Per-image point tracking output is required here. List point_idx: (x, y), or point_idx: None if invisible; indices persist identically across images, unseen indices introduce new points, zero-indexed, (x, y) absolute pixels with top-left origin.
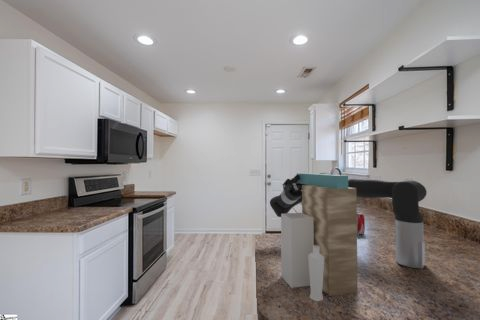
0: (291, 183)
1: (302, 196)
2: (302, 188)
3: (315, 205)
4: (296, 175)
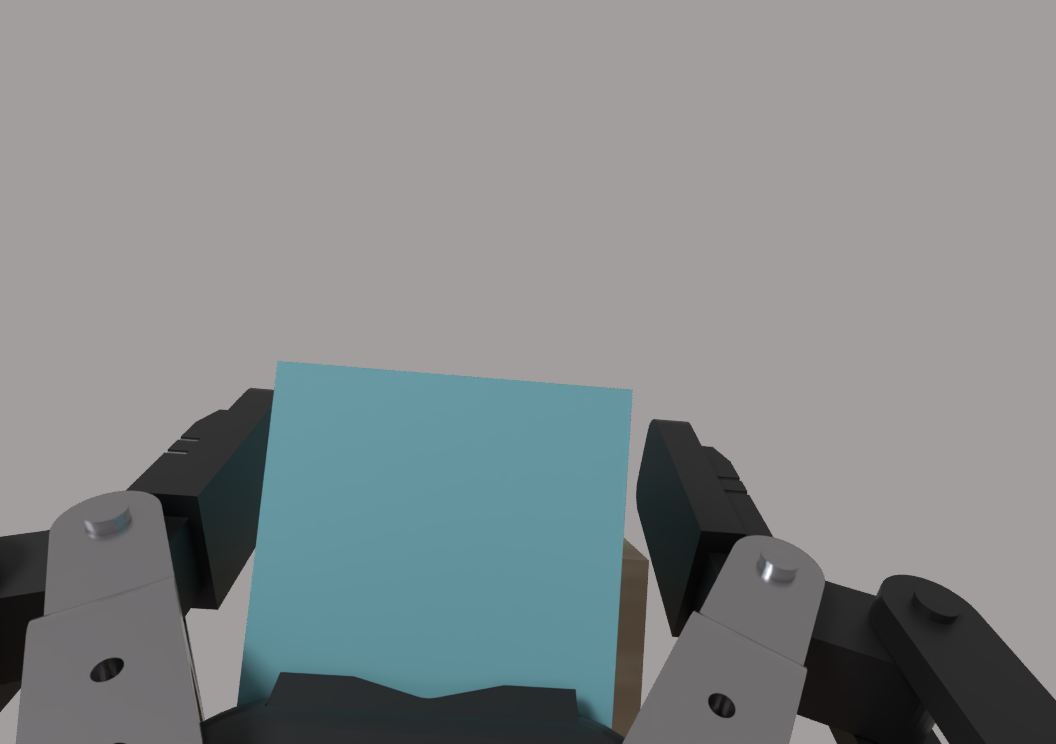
0: (811, 694)
1: (637, 714)
2: (643, 603)
3: None
4: (705, 448)
